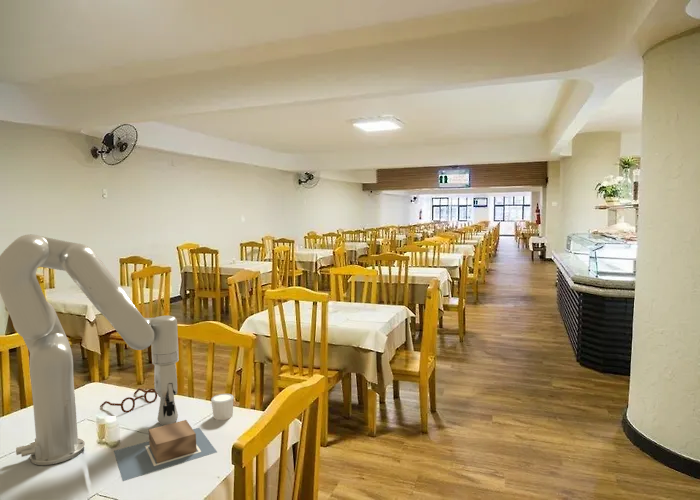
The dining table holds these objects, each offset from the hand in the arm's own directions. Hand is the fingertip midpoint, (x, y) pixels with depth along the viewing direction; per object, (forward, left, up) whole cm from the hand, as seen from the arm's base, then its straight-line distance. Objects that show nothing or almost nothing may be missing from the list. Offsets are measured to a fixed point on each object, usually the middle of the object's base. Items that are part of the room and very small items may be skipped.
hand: (167, 414), depth 142 cm
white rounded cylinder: (+15, -6, -4) cm, 17 cm away
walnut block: (-3, -18, -2) cm, 18 cm away
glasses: (-7, +25, -4) cm, 26 cm away
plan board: (-5, -18, -3) cm, 19 cm away
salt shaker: (0, 0, -3) cm, 3 cm away
